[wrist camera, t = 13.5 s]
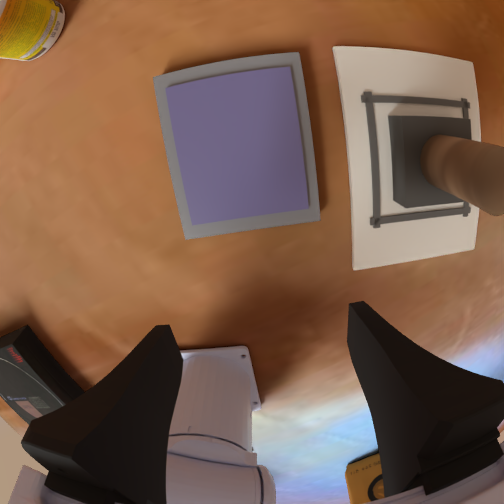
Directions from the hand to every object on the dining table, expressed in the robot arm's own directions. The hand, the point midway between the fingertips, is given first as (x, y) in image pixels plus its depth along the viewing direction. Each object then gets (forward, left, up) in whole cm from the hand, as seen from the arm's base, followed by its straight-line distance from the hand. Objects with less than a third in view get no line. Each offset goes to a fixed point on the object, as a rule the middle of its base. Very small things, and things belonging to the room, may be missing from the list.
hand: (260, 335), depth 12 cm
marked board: (+5, -13, -10) cm, 17 cm away
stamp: (+5, -13, -10) cm, 17 cm away
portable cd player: (-16, +32, -11) cm, 38 cm away
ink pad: (+7, 0, -10) cm, 12 cm away
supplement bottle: (+21, +14, -11) cm, 27 cm away
